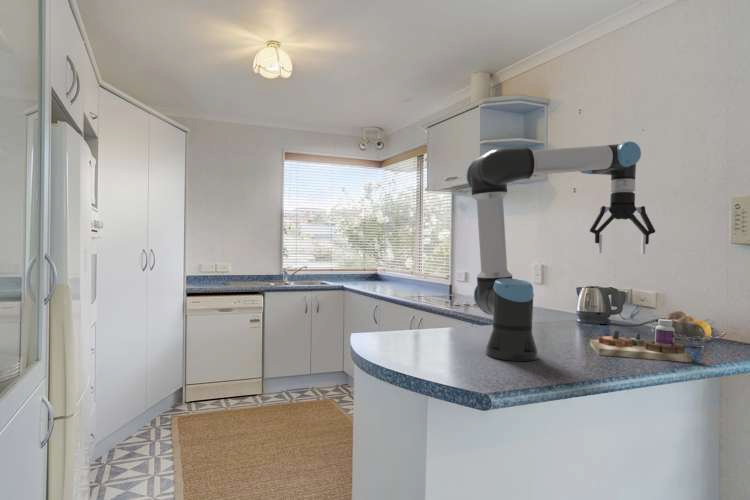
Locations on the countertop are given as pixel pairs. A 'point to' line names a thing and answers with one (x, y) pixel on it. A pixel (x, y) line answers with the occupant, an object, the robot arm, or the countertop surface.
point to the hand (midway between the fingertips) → (621, 253)
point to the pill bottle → (664, 333)
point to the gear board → (638, 348)
